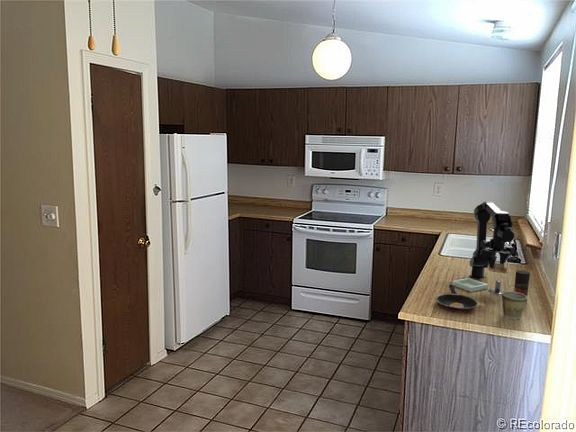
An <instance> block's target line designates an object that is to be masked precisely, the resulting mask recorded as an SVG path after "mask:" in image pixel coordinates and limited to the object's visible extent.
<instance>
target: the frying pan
mask: <svg viewBox="0 0 576 432" xmlns="http://www.w3.org/2000/svg"><path fill="white" fill-rule="evenodd" d="M448 289H449V290H450V293H442V294H438V295H436V296H435V300H436V302H437V303H438V305H439V306H440V307H441V308H443V309H444V310H447V311H450V312H455V313H469V312H471V311H473V310H474V309H475V308H476V307H478V306H479V303H480V302H478V300H476V299H475V298H473V297H470V296H468V295H464V294H460V293H457V292H456V289H455V286H453V285H452V283H451V284H449V285H448Z"/></svg>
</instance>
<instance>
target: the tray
mask: <svg viewBox="0 0 576 432" xmlns="http://www.w3.org/2000/svg"><path fill="white" fill-rule="evenodd" d="M451 284H452V285H453V286H454V287H457V288H458V289H462V290H464V291H467V292H469V293H474V292H477V291H478V292H479V291H482V290H487V289H488V290H489V284H488V283H486V282H482V281H480V280H478V279H475V278H472V277H466V278H461V279H456V280H452V282H451Z"/></svg>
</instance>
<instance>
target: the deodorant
mask: <svg viewBox="0 0 576 432" xmlns="http://www.w3.org/2000/svg"><path fill="white" fill-rule="evenodd" d="M530 276H531V273H530V271H528V270H523V269H521V270H520V269H519V270H515V277H514V286H513V292H518V293H521V294H524V295H526V296H527V297H528V295H529V294H528V292H529V285H530V278H531V277H530ZM527 302H528V299H527V300H526V304H527Z"/></svg>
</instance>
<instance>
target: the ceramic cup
mask: <svg viewBox="0 0 576 432" xmlns="http://www.w3.org/2000/svg"><path fill="white" fill-rule="evenodd" d="M526 300H527V301H528V295H527V296H526V295H524V294H521V293H518V292H514V291H511V290H510V291H505V292H503V293H502V295H501V302H502V310H503V311H502V312H503V314H502V315H503V316H504V318H506V319H508V320H515V321H518V320H520V319H521V318H522V315H523V311H524V308H525V306H526V304H527V303H526Z"/></svg>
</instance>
